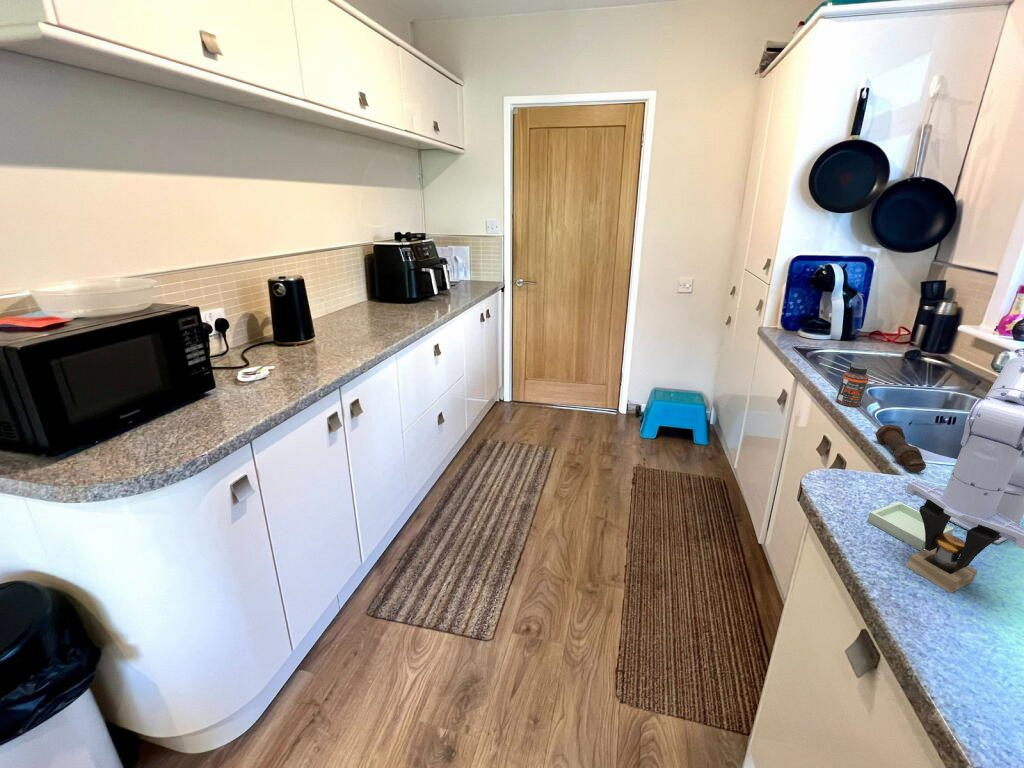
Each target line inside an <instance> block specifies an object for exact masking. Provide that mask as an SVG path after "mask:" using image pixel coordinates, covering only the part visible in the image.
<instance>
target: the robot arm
mask: <svg viewBox="0 0 1024 768" xmlns="http://www.w3.org/2000/svg"><path fill="white" fill-rule="evenodd" d="M960 445H961V446H962V447H961V448H960V451H959V454H958V456H957V459H956V462H955V464H954V467H953V469H952V472H951V474H950V476H949V479H948V481H947V485H946V487H945V489H943V488H939V487H937V486H933V485H930V484H927V483H925V482H922V481H920V480H917V479H914V480H912V481H909V482H908V483H907V486H906V488H905V491H904V492H905V494H907V495H909V496H913V497H914V496H916V497H918V498H920V499H922V500H925V503H924V504H922V505H920V507H919V509H918V511H919V512H920V514H921V517H922V520H923V523H924V528H925V549H926V550H928V551H931V550H933V549H937V547H938V544H937V543H936V541H935V540H936V538H937V535H938V534H943V532H944V529H945V527H946V525H948V524H949V522H950V523H952V524H955V525H956V526H958V527H961V528H963V529H965V530H967V531H966V535H965V536H966V537H965V540H964V542H965V545H964V548H963V551H962V553H961V554H960V556H959V558H958V560H957V563H956V566H957V567H959V568H961V569H963V568H965V567H967V566H970V564H971V563H972V562H973V560H975V558H976V557H977V556H978V555H979V554H980V553H981V552H983V550H985V549H986V548H987V547H989V546H990V545H992V544H993V543H994V544H996V545H997V544H998V545H999V544H1001V543H1004V542H1005V541H1007V540H1009V541H1011V542H1013V545H1015V546H1016V547H1018V548H1020V549H1023V550H1024V527H1023V526H1021V525H1020V523H1021V521H1022V519H1023V517H1024V354H1022V355H1021V356H1017V357H1014V358H1011V359H1009V360H1007V361H1006V362H1005V364H1004V366H1003V367H1002V369H1001V371H1000V372H999V374H998V376H997V377H996V378H995V380H994V382H993V383H992V385H991V388H990V389H989V391H988V392H987V394H986V395H985V397H984V398H983V399H982V398H981V397H980V398H978V399H977V400H976V401H975V402H974V403H973V405H972V406H971V408H970V409H969V413H968V414H967V417H966V419H965V423H964V429H963V435H962V438H961V441H960Z"/></svg>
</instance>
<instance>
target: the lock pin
mask: <svg viewBox="0 0 1024 768" xmlns="http://www.w3.org/2000/svg"><path fill="white" fill-rule="evenodd" d="M935 541H936V543H937V544H938V547H937V548H936V552H935V554H934V557H933V559H932V562H931V564H933V565H934V566H936V567H938V568H940V569H942V570H943V571H945V572H947V573H949V574H952V572H953V570H954V568H955V565H956V563H957V560H958V558H959V557H960V555H961V553H962V551H963V548H964V545H965V540H963V539H962V538H959V537H957V536H955V535H953V534H952V535H948V534H938V535H937V538H936V540H935Z"/></svg>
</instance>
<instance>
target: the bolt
mask: <svg viewBox="0 0 1024 768" xmlns="http://www.w3.org/2000/svg"><path fill="white" fill-rule="evenodd" d="M874 434H875V438H876V440H877V442H878V443H879V445H880V446H881V445H882V446H888V447H889V448H890V449H891V450H892V452H893V454H894V458H895V460H896V462H897V464H898V465H900V466H904V467H906V468H907V469H908V470H909V471H910V472H912V473H918V472H919V473H920V472H923V471H924V470H925V469H926V468H927V463H926V462H925V461H924V460H923V459H924V458H923V455H922V452H921V451H920V449H919V448H918V447H917V446H914V445H910V444H909V443H908V442H907V441H906V437H905V434H904V431H903V428H902V427H901V426H900V425H896V424H884V425H882V426H881V427H880V428H878V429H877V431H875V433H874Z"/></svg>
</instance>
